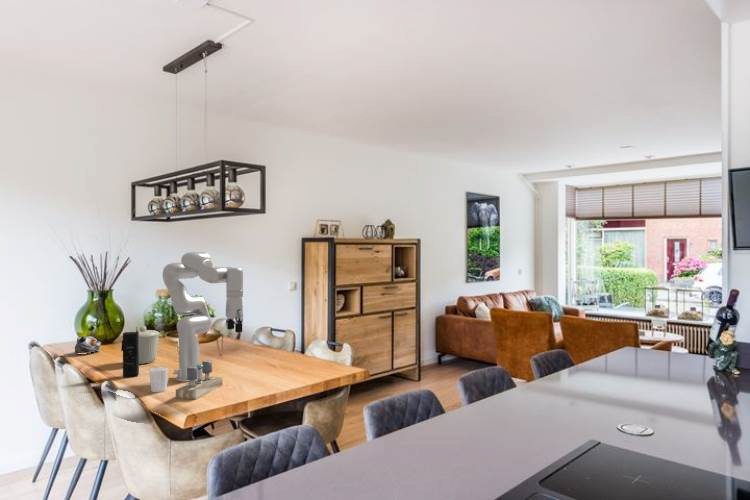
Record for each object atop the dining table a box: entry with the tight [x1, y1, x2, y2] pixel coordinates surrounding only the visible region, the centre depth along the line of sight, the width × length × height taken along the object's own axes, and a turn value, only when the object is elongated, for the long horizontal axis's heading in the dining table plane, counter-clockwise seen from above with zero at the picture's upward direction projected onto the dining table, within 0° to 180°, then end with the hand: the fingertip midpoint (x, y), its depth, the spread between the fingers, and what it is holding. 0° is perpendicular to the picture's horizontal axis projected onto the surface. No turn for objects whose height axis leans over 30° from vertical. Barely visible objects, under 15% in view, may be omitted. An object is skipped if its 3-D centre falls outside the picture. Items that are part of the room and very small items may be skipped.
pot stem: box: [197, 363, 203, 384], centre depth 223 cm, size 3×3×8 cm
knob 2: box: [201, 359, 213, 380], centre depth 229 cm, size 4×4×10 cm
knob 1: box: [187, 366, 198, 388], centre depth 218 cm, size 4×4×10 cm
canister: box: [133, 325, 161, 365], centre depth 283 cm, size 18×18×21 cm
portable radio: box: [120, 327, 140, 378], centre depth 252 cm, size 8×6×25 cm
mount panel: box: [175, 375, 223, 400], centre depth 223 cm, size 10×22×4 cm, turn 168°
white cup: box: [149, 366, 169, 393], centre depth 226 cm, size 8×8×10 cm
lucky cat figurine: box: [74, 335, 102, 354], centre depth 308 cm, size 15×12×14 cm
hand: (234, 330), depth 227 cm, fingers open, 9 cm apart
